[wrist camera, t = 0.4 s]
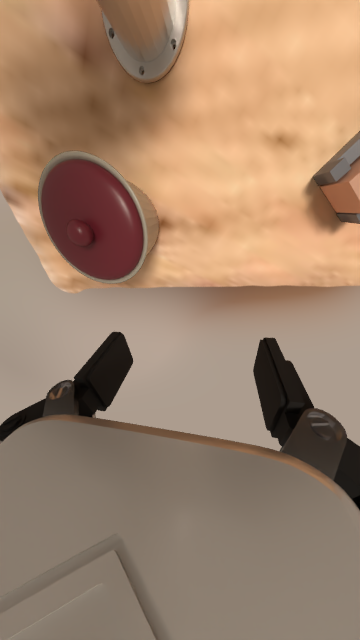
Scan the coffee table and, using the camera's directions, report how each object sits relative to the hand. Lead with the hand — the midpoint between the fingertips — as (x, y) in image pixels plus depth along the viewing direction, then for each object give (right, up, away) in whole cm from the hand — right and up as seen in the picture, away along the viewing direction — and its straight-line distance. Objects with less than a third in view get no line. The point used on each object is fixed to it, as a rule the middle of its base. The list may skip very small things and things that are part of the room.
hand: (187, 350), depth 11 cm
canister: (-12, +26, +28) cm, 40 cm away
